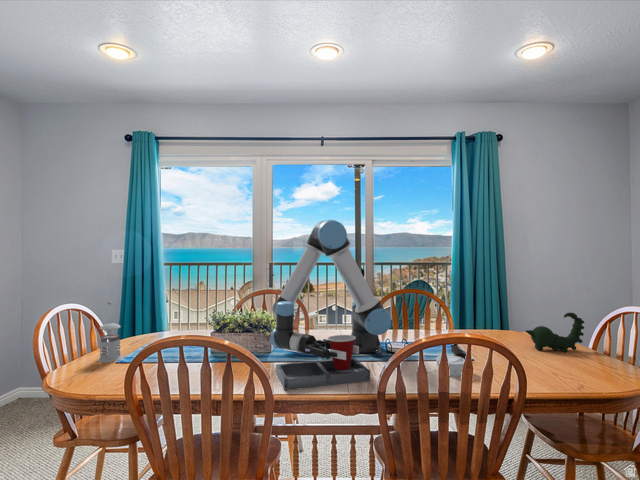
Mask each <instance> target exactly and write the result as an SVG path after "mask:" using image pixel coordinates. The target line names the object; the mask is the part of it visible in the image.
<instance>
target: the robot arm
mask: <svg viewBox="0 0 640 480" xmlns="http://www.w3.org/2000/svg"><path fill="white" fill-rule="evenodd" d="M314 225H315V226H314V227H313V229H312V230H311V231H310V232H311V233H310V234H309V237H308V239H307V240H306V242H305V246H306V247H305V249H304V251H303V252H302V255H301V257H299V260H298V262H297V264H296V265H295V267H294V269H293V271H292V272H291V274H290V277H289V278H288V280H287V282H286V284H285V285H284V288H283V289H282V291H281V293H280V295H279V297H278V298H277V300H276V301H275V302H274V303H273V305H272V309H271V311H272V313H273V316H274V317H275V328H274V329H273V330H272V331H271V333H270V336H269V342H270V344H271V346H272V347H275V348H278V349H279V350H280V349H281V350H287V351H291V352H296V354H299V353H302V354H304V355H313V356H316V357H319V358H322V359H325V358H326V360H330V358H332V357H333V358H338V359H342V360H346V352H343V351H337V350H332V349H331V346H330V343H329V340H328V339H327V338H326V339H325V338H324V339H323V340H321V339H316V337H315V336H314V335H311V334H305V333H301V332H296V331H295V304H296V301H297V300H298V298H299V296H300V295H301V292H302V290H303V289H304V287H305V286H306V283H307V281H308V280H309V278H310V276H311V275H312V272H313V271H314V269H315V266H317V263H318V261H319V260H320V258H321V256H323V255H325V256H326V257H327V258H330V259H331V261H332V262H333V264H334V266H335V268H336V270H337V272H338V274H339V275H340V278H341V280H342V282H343V283H344V285H345V287H346V289H347V291H348V293H349V295H350V297H351V298H352V300H353V301H352V304H351V309H352V310H351V318H352V319H351V323H352V324H351V327H352V329H351V334H350V335H352V336H355V337H356V339H355V341H354V346H353V351H352V354H355V355H356V354H360V353H366V354H367V353H375V352H374V351H376V350H379V349H380V350H381V348H382V344H381V341H380V337H379V336H381V335H383V334H385V333H386V332H387V331H388V330H389V329H390V327H391V324H392V317H391V314H390V313H389V312H388V310H386V309H385V308H384V306H383V304H382V303H381V302H382V301H381V300H380V299H379V297H376V296H374V294H373V292H372V291H371V288H370V287H369V284H368V283H367V281H366V279H365V277H364V275H363V274H362V271H361V270H360V268H359V266H358V264H357V262H356V260H355V258H354V256H353V254H352V252H351V251H350V246H351V242H350V240H349V239H348V233H347V229H346V228H345V226H344V225H343V224H342V223H341V222H340V221H338V220H334V219H327V220H322V221H318V223H316V224H314ZM380 350H379V351H380ZM376 352H377V351H376Z"/></svg>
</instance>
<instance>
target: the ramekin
mask: <svg viewBox="0 0 640 480" xmlns="http://www.w3.org/2000/svg"><path fill="white" fill-rule="evenodd" d="M446 355H447V358H448V364H449V369H450V376H449V377H460V376H462V375H461V372H462V367H463V364H464V361H465V360H466V358H465V359H463V358H461V357H458V356H455V355H453V354H446ZM440 358H441V355H438V356H436V357H435V362H436V365H437V368H438V366H439V362H440Z"/></svg>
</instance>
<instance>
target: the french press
mask: <svg viewBox="0 0 640 480" xmlns="http://www.w3.org/2000/svg"><path fill="white" fill-rule="evenodd" d="M106 304H107V305H112V304H113V301H111V300H110V301H107V303H106ZM120 328H121V325H120V324H117V323H114V322H108V323H105V324H103V325H101V326H100V327H99V330H101V331H104V332H103V335H102V336H101V337H100V338H101V340H99V347H100V348H99V355H100V357H99V358H98V359H97V362H99V363H113V362H116V361H120V360H122V359H123V358H124V357H123V355H121V338H119V337H120V335H119V334H117V333H116V334H115V333H113V334H111V333H110V332H111V331H113V330H118V329H120ZM106 333H107V334H106ZM105 334H106V335H105Z"/></svg>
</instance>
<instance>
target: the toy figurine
mask: <svg viewBox="0 0 640 480" xmlns="http://www.w3.org/2000/svg"><path fill="white" fill-rule="evenodd" d="M567 317H569V318H571V319H573V323H572V328H571V329H570V333H569V334H568V335H567V336H562V335H559V334H557V333H554V332H553V331H552V329H551V328H549V327H547V326H544V325H540V326H536V327H535V328H533V329H529V330H525V333H527V334H528V335H529V336H530V337H531V341H532V342H533V343H534V348H535V349H536V350H537V351H542V350H543V349H544V348H546V347H547V348H549V349H551V350H552V351H554V352H558V350H560V351H562V352H563V353H567V352H568V351H569V350H568V349H571V350H572V351H575V350H577V346H576V343H577V344H578V343H579V344H582V343H583V341H584V340H583V339H580V337H581V336H583V337H584V335H585V334H584V332H582V330H584V329H585V326H584V325H583V324H585V320H583V319H582V317H578V315H577V314H576V313H574V312H566V313H565V314H564V315H563V318H567Z"/></svg>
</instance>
